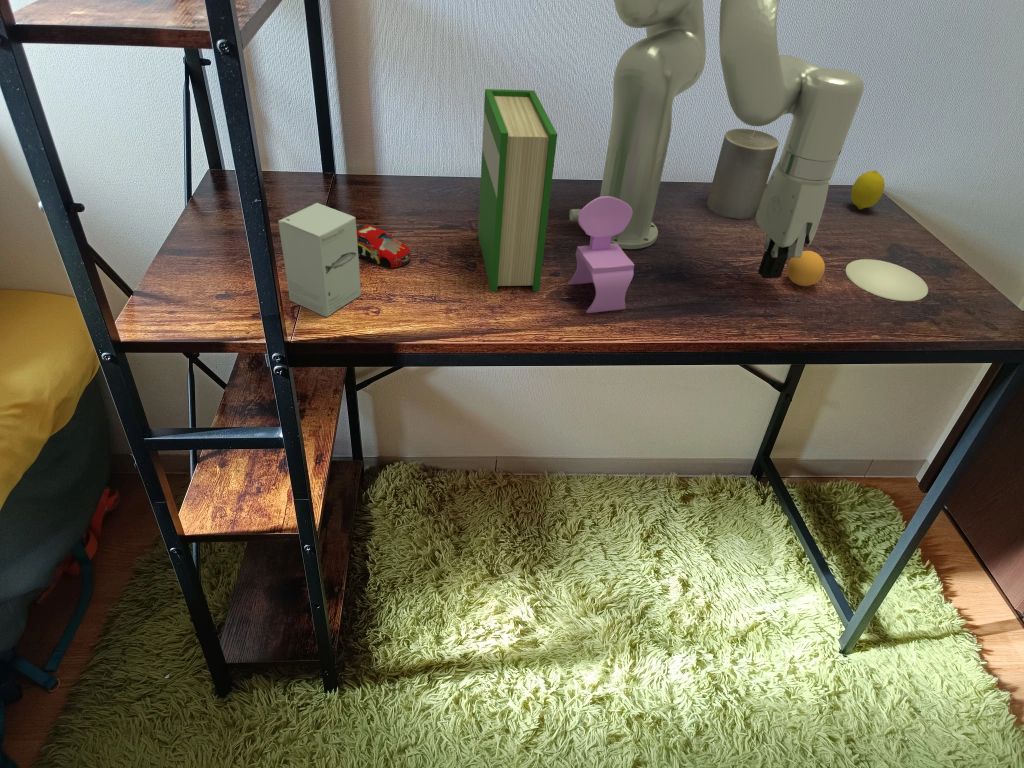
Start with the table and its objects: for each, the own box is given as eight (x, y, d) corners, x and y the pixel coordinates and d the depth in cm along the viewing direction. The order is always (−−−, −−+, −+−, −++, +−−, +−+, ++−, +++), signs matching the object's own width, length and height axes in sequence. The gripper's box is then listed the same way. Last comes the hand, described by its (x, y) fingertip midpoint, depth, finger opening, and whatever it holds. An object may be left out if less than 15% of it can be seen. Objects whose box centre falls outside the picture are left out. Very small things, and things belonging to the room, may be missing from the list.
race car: (417, 261, 111) (417, 238, 108) (396, 274, 107) (395, 252, 104) (354, 235, 115) (352, 213, 113) (331, 247, 111) (329, 225, 109)
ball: (835, 260, 108) (826, 290, 111) (818, 242, 112) (810, 272, 115) (800, 264, 107) (792, 294, 111) (785, 246, 111) (778, 276, 115)
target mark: (873, 302, 110) (873, 301, 110) (830, 261, 120) (831, 260, 120) (944, 299, 112) (945, 298, 112) (897, 259, 122) (897, 258, 122)
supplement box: (327, 319, 96) (317, 236, 88) (288, 300, 99) (275, 219, 91) (363, 296, 101) (357, 216, 93) (325, 279, 104) (316, 200, 96)
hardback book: (539, 291, 105) (557, 134, 90) (491, 292, 104) (501, 133, 89) (521, 235, 119) (534, 90, 103) (478, 235, 118) (485, 89, 102)
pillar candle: (731, 194, 139) (752, 118, 129) (768, 214, 132) (793, 136, 123) (695, 202, 134) (714, 125, 125) (731, 224, 128) (754, 144, 119)
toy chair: (581, 315, 101) (596, 221, 92) (561, 284, 108) (574, 193, 98) (633, 310, 103) (653, 218, 94) (610, 279, 110) (627, 190, 100)
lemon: (869, 204, 140) (885, 166, 134) (877, 217, 135) (895, 177, 130) (841, 201, 140) (857, 163, 135) (849, 213, 135) (865, 174, 130)
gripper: (760, 144, 104) (728, 253, 116) (808, 186, 93) (767, 302, 104) (805, 144, 105) (769, 252, 117) (858, 185, 94) (813, 300, 106)
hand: (768, 275), depth 111 cm, fingers closed
